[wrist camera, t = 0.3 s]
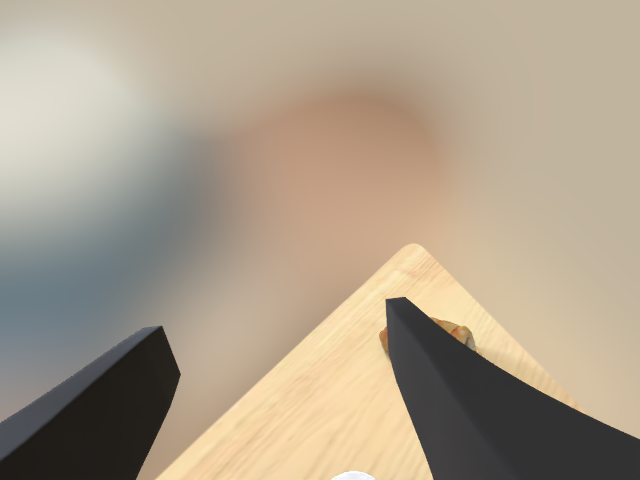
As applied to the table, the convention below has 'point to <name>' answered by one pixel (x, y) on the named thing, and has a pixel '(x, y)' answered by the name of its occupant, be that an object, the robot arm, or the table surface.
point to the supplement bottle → (353, 476)
